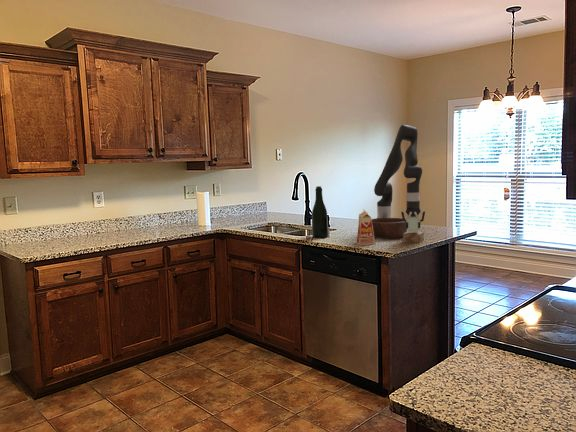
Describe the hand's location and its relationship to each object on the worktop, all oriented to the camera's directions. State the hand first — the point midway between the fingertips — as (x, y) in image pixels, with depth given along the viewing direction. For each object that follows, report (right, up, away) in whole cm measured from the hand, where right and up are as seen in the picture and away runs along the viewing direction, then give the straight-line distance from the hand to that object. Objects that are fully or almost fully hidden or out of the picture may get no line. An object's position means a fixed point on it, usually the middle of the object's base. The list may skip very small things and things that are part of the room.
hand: (413, 228), depth 285 cm
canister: (0, -2, 0) cm, 2 cm away
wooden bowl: (-10, -6, +21) cm, 25 cm away
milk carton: (-29, -9, -2) cm, 30 cm away
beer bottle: (-53, -6, +28) cm, 60 cm away
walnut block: (0, -8, +1) cm, 8 cm away
